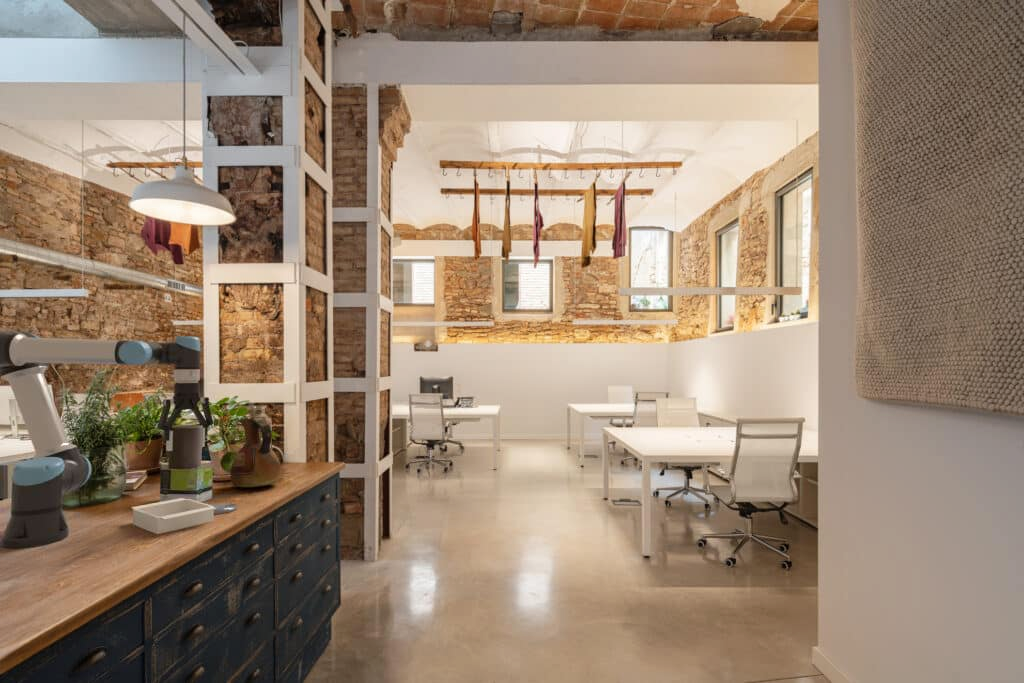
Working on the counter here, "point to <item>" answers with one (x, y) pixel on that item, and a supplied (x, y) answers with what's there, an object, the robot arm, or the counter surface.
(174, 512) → the white rectangular tray
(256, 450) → the ceramic pitcher
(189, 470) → the tea box
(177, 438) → the pillar candle
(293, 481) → the counter surface
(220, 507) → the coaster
